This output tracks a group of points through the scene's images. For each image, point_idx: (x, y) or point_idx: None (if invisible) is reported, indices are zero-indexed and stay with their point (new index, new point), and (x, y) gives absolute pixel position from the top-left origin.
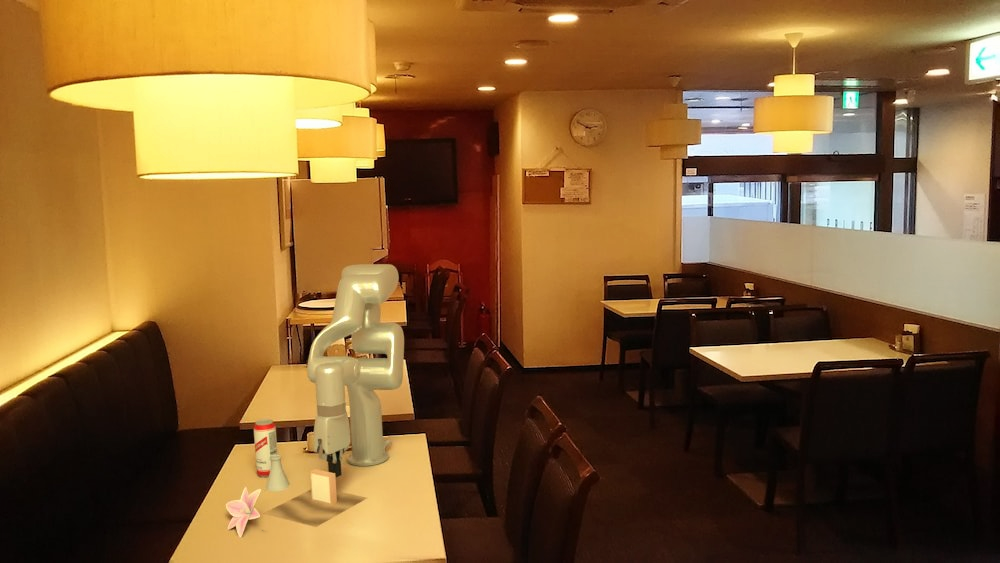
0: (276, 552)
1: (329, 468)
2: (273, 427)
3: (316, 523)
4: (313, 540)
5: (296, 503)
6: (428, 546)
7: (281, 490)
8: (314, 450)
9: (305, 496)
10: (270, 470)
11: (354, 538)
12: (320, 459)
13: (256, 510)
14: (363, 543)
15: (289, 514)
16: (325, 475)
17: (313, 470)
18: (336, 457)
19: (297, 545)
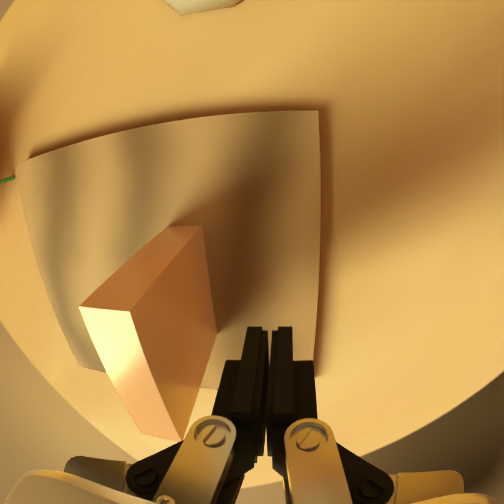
0: (11, 332)
1: (219, 391)
2: None
3: (86, 358)
4: (68, 370)
5: (108, 192)
6: None
7: (176, 4)
8: (18, 483)
9: (181, 160)
10: None
11: (133, 427)
12: (81, 465)
13: None
14: (135, 440)
15: (53, 250)
16: (131, 410)
17: (106, 316)
18: (285, 470)
19: (41, 352)
